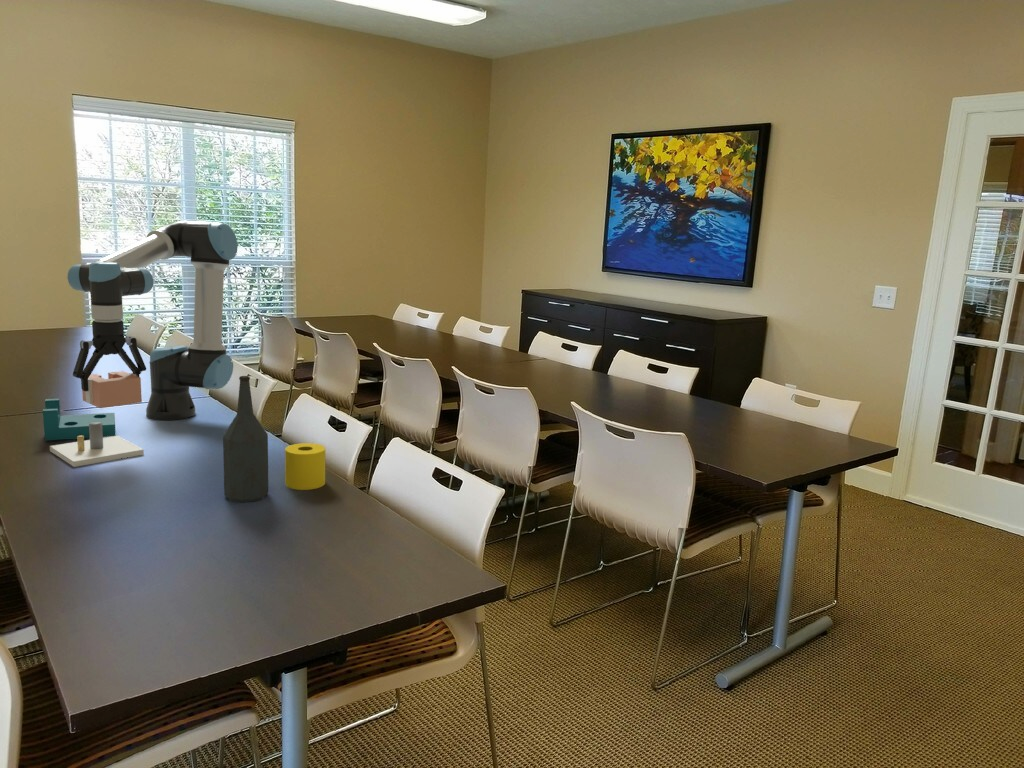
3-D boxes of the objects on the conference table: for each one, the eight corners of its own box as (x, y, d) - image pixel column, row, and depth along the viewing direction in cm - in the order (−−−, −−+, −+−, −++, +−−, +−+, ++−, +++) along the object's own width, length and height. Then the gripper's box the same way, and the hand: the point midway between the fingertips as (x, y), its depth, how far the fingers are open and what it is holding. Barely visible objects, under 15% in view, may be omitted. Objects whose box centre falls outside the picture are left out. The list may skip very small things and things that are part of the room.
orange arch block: (141, 402, 212) (140, 377, 210) (99, 408, 203) (98, 382, 202) (124, 395, 218) (122, 371, 217) (82, 400, 210) (81, 375, 209)
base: (117, 440, 227) (116, 412, 225) (143, 454, 215) (142, 425, 213) (50, 451, 213) (48, 421, 212) (74, 466, 202) (72, 435, 200)
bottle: (227, 504, 182) (224, 381, 176) (221, 491, 190) (218, 373, 184) (272, 499, 186) (270, 379, 180) (264, 487, 195) (263, 371, 189)
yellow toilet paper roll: (332, 480, 202) (332, 446, 201) (310, 492, 193) (311, 456, 191) (300, 475, 206) (300, 441, 204) (277, 486, 196) (277, 450, 194)
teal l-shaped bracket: (45, 445, 221) (42, 410, 218) (47, 432, 230) (45, 399, 227) (115, 440, 229) (113, 407, 226) (115, 428, 238) (113, 396, 235)
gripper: (145, 316, 217) (148, 391, 222) (54, 321, 200) (60, 402, 204) (157, 319, 213) (160, 396, 217) (66, 324, 195) (71, 408, 200)
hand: (112, 399), depth 211 cm, fingers closed on orange arch block, 11 cm apart
